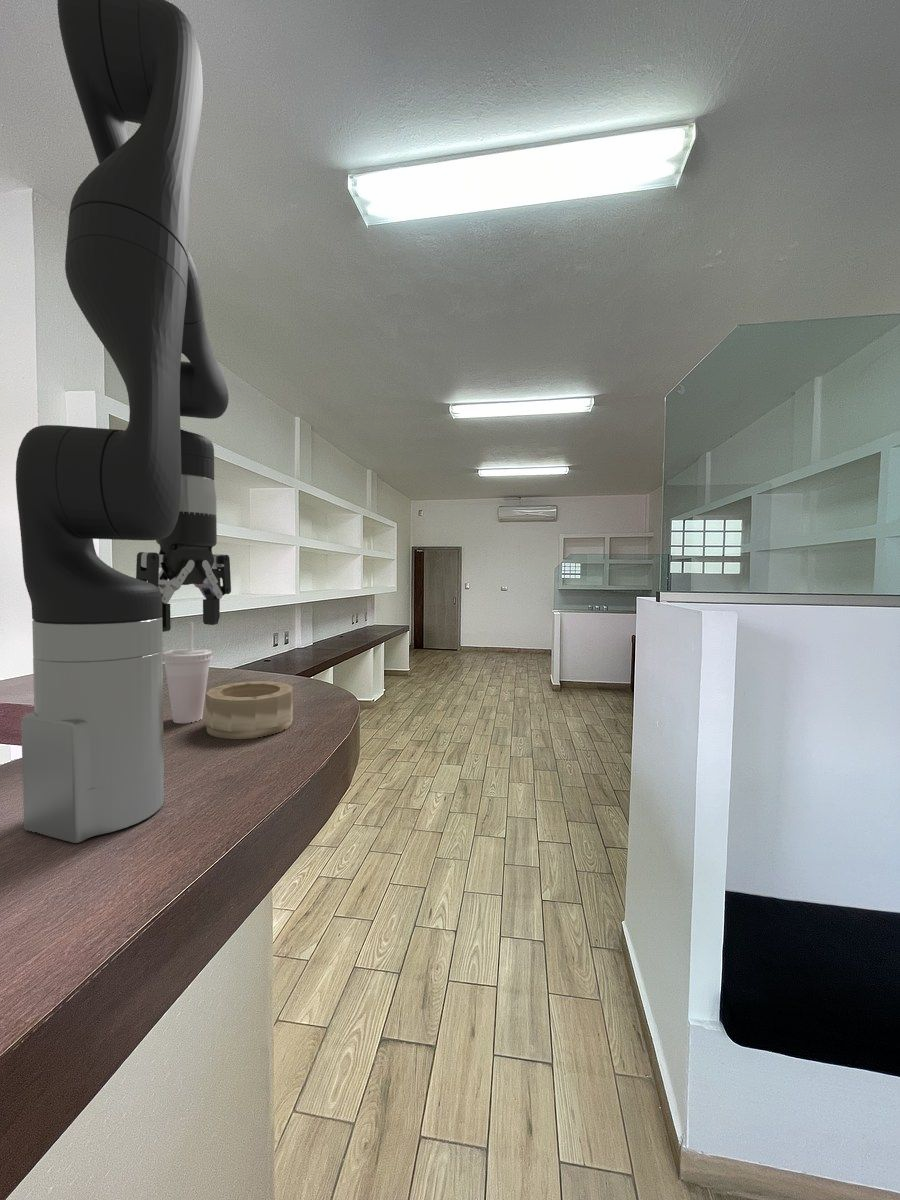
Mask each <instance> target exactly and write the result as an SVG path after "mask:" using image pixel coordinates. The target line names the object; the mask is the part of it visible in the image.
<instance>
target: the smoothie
mask: <svg viewBox="0 0 900 1200" xmlns="http://www.w3.org/2000/svg"><path fill="white" fill-rule="evenodd" d="M194 631H195V630H194V621H191V620H190V621H188V633H189V634H188V642H189V643H188V644H189V645H188V647H189V648H181V649H171V650H167V651H164V652H163V662H164V663H163V664H164V669H165V674H166V676H165V677H166V681H167V689H168V696H169V702H170V709H171V716H172V717H171V718H172V721H173V723H176V724H192V723H196V722H195V721H197V722H199V720H200V719H201V720H203V716H204V715H203V714H204V707H205V702H206V693H207V686H208V677H209V670H210V662H211V660H212V659H213V651H212V650H211V649H206V648H194V644H195V643H194V638H195V637H194V635H195V634H194ZM201 720H200V721H201ZM191 722H192V723H191Z"/></svg>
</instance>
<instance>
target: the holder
mask: <svg viewBox="0 0 900 1200" xmlns="http://www.w3.org/2000/svg"><path fill="white" fill-rule="evenodd" d="M293 697H294V687H293V685H290V684H287V683H284V682H280V681H279V682H277V681H267V680H264V681H263V680H262V681H260V680H259V681H243V682H240V681H239V682H234V683H227V684H223V685H220V686H216V687H212V688H210V689H209V690H207V691H206V694H205V724H206V733H207V734H208V735H210V736H212V737H215V738H219V739H225V740H249V739H251V740H252V739H259V738H258V737H260V738H264V737H263V736H266V737H268V736H267V735H270V736H272V735H271V734H274V733H277V732H280V731H282V730H284V729H286V728H288V727H289V726H290V725H291V724H292V725H293V723H292V721H293V719H294V718H293V717H294V716H293V715H294V713H293V711H294V706H293V705H294V703H293V702H294V701H293V700H294V698H293ZM274 735H275V734H274Z"/></svg>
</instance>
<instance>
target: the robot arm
mask: <svg viewBox="0 0 900 1200" xmlns="http://www.w3.org/2000/svg"><path fill="white" fill-rule="evenodd" d="M56 2H57V5H56V6H57V16H58V24H59V31H60V36H61V41H62V46H63V51H64V53H65V58H66V61H67V65H68V69H69V73H70V76H71V79H72V83H73V86H74V91H75V93H76V96H77V99H78V102H79V106H80V109H81V111H82V114H83V118H84V121H85V124H86V127H87V130H88V132H89V136H90V139H91V143H92V147H93V149H94V153H95V156H96V158H97V161H98V165H97V166H96V167H95V168H94V169H93V170H91V172H90V173H88V175H87V176H86V177H85V178H84V180H83V181H82V182H81V183H80V184H79V186H78V187H77V189H76V191H75V193H74V195H73V196H72V200H71V202H70V203H71V204H70V208H69V215H68V225H67V236H66V237H67V238H66V247H65V248H66V249H65V260H64V264H65V265H64V269H65V277H66V281H67V284H68V288H69V289H70V292H71V294H72V297H73V299H74V301H75V302H76V304H77V306H78V308H79V309H80V311H81V313H82V314H83V316H84V318H85V320H86V321H87V322H88V324H89V325H90V327H91V329H92V330H93V332H94V333H95V335H96V336H97V338H98V339H99V341H100V342H101V343H102V345H103V346H104V349H106V351H107V352H108V354H109V357H110V358H111V359H112V361H113V362H114V364H115V366H116V369H117V371H118V373H119V374H120V376H121V378H122V380H123V382H124V385H125V387H126V392H127V396H128V402H129V404H128V406H129V409H128V410H129V418H128V420H129V421H128V423H127V427H126V428H125V429H115V428H114V429H113V428H103V427H102V428H101V427H100V428H99V427H88V426H87V427H86V426H73V425H56V424H53V425H52V424H45V425H38V426H35V427H33V428H31V429H30V430H29V431H28V432H26V434H25V435H24V436H23V438H22V440H21V442H20V445H19V447H18V450H17V456H16V461H15V487H16V488H15V489H16V503H17V510H18V520H19V521H18V522H19V532H20V541H21V542H20V543H21V554H22V555H21V557H22V568H23V569H22V571H23V579H24V583H25V587H26V590H27V593H28V597H29V600H30V604H31V619H32V623H31V624H32V625H31V626H32V657H33V658H32V668H33V669H32V671H33V674H32V675H33V707H34V708H33V712H30V713H27V714H25V715H23V716H22V717H21V723H20V729H21V764H22V766H21V767H22V769H21V770H22V799H23V801H22V802H23V803H22V804H23V805H22V806H23V830H24V829H26V830H25V831H27V830H29V832H31V831H32V833H35V832H38V833H37V834H39V833H40V835H42V834H43V836H47V837H50V838H55V839H59V840H62V841H66V842H70V843H73V844H78V843H81V842H83V841H86V840H88V839H89V838H91V837H95V836H100V835H105V834H109V833H113V832H116V831H120V830H122V829H126V828H128V827H130V826H133V825H137V824H139V823H140V822H142V821H144V820H146V819H148V818H150V817H152V816H153V815H154V814H155V813H157V812H158V811H159V810H160V809H161V808H162V806H163V804H164V802H165V801H164V791H165V790H164V789H165V787H164V785H165V783H164V779H165V778H164V777H165V776H164V681H163V680H164V677H163V676H164V675H163V674H164V670H163V668H164V667H163V664H164V663H163V653H164V652H163V649H164V648H163V641H164V639H163V632H164V633H165V632H169V631H171V629H172V628H171V603H169V602H170V600H171V598H172V597H173V595H174V594H175V593H176V591H178V590H180V589H181V587H182V586H189V585H194V587H195V588H198V589H199V591H200V592H201V595H202V596H203V597H204V598H205V599H202V623H203V625H209V626H215V625H218V624H219V620H220V617H221V614H220V612H221V611H220V610H221V609H220V608H221V607H220V606H221V605H220V602H221V601H220V600H221V599H222V598H223V596H225V595H229V594H231V592H232V580H231V578H232V577H231V563H230V561H231V560H230V555H228V554H221V553H220V554H213V551H212V549H213V547H215V546H216V545H217V542H218V541H217V539H218V538H217V536H218V535H217V533H218V532H217V531H218V530H217V521H218V519H217V492H216V487H215V448H214V443H213V442H212V441H211V439H209V438H208V437H206V436H204V435H201V434H199V433H195V432H192V431H187V430H184V429H182V428H181V417H188V418H196V419H197V418H198V419H209V420H212V419H213V420H214V419H218V418H220V417H222V416H223V415H224V414H225V412H226V410H227V409H228V404H229V398H230V397H229V390H228V386H227V383H226V380H225V377H224V375H223V373H222V371H221V367H220V365H219V363H218V360H217V358H216V355H215V354H214V351H213V347H212V345H211V343H210V339H209V335H208V332H207V331H208V330H207V327H206V321H205V315H204V306H203V299H202V291H201V284H200V279H199V274H198V272H197V271H198V270H197V267H196V265H195V262H194V260H193V257H192V255H191V253H190V251H189V246H190V244H189V243H190V242H189V241H190V238H189V237H190V233H189V232H190V207H191V206H190V203H191V191H192V189H191V187H192V179H193V174H194V173H193V172H194V166H195V158H196V154H197V153H196V152H197V147H198V146H197V145H198V141H199V133H200V127H201V120H202V111H203V100H204V99H203V97H204V95H203V94H204V91H203V90H204V89H203V88H204V81H203V78H204V77H203V75H204V74H203V63H202V57H201V50H200V46H199V43H198V40H197V36H196V34H195V30H194V29H193V26H192V24H191V22H190V21H189V19H188V17H187V16H186V14H185V13H184V12H183V10H181V9H180V8H179V7H177V5H175V4H173V3H172V2H170V1H168V0H57V1H56ZM125 122H129V123H130V122H131V123H135V124H139V127H138V129H137V130H136V131H135V132H134V133H133V135H131V137H129V135H128V131H127V126H126V123H125ZM182 354H183V355H184V356H185V358H186V359H188V361H183V360H182ZM95 539H96V540H115V541H117V540H119V541H123V540H124V541H126V540H127V541H156V543H157V544H158V545H159V552H154V551H153V552H150V551H149V552H147V551H140V552H138V553H136V568H135V569H136V570H135V572H136V573H135V577H133V576H130V575H127V574H125V573H122V572H121V571H118V570H116V569H114V568H113V567H111V566H110V565H108V564H106V562H104V561H103V560H101V558H100V557H99V556H98V554H97V552H96V549H95V543H94V540H95ZM160 568H161V570H160ZM159 571H160V572H159ZM221 581H222V582H221ZM221 583H222V585H221Z"/></svg>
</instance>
